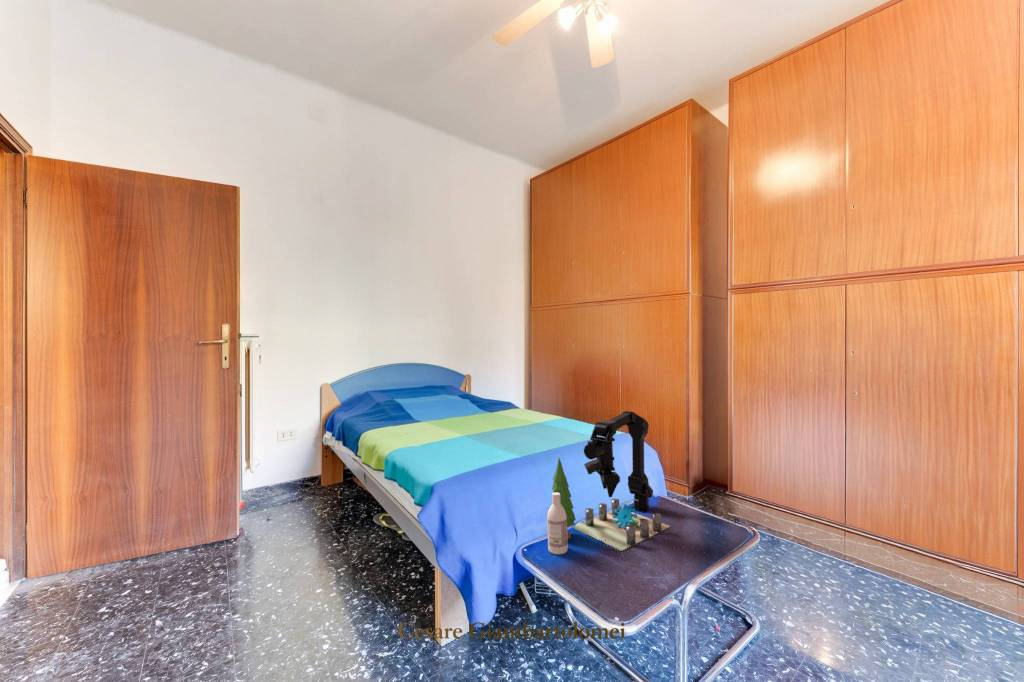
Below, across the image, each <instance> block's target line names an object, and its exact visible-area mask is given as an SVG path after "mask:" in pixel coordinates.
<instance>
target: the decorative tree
mask: <svg viewBox="0 0 1024 682" xmlns="http://www.w3.org/2000/svg"><path fill="white" fill-rule="evenodd" d="M557 458H558V459H557V465H556V469H555V472H554V475H553V478H552V480H553V483H552V488H551V490H553V492H552V493H554V492H558V493H560V503H561V505H562V507H563V508H564V510H565V512H566V516H567V540H569V538H570V539H572V535H571V533H570V532H569V531H568V528H570V527H574V525H575V526H576V524H575V521H576V520H577V519H576V515H575V512H574V511H573V509H574V504H573V503H572V500H571V498H572V494H571V492H570V489H569V487H570V485H569V483H568V481H567V480H568V479H567V477H566V474H565V471H564V469H563V464H562V461H561V459H560V457H557Z"/></svg>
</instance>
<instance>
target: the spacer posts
mask: <svg viewBox="0 0 1024 682" xmlns="http://www.w3.org/2000/svg"><path fill="white" fill-rule="evenodd" d="M610 503H611V512H612V515H613V514H614V515H615V516H618V514H617V513H615V512H614V510H615V509H617V510H618V512H619V508H618V506H619V505H620V499H618V498H611V502H610ZM607 506H608V505H607V504H606V503H603V502H600V503H598V517H599V520H601V521H607V513H608V507H607ZM584 511H585V522H586V526H589V527H592V526H594V518H595V517H594V509H593V508H591V507H590V508H585V510H584ZM651 516H652V517H651V519H652V521H653V531H654V532H660V533H662V532H663V531H662V527H661V523H662V515H661V514H660V513H657V512H656V513H655V512H653V513H652V515H651ZM640 537H641V538H643V539H646V540H648V539H650V538H649V521H648V520H647V519H640ZM626 540H627V544H628V545H630V546H632V547H634V546H636V545H637V544H636V535H635V526H633V525H627V526H626Z"/></svg>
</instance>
